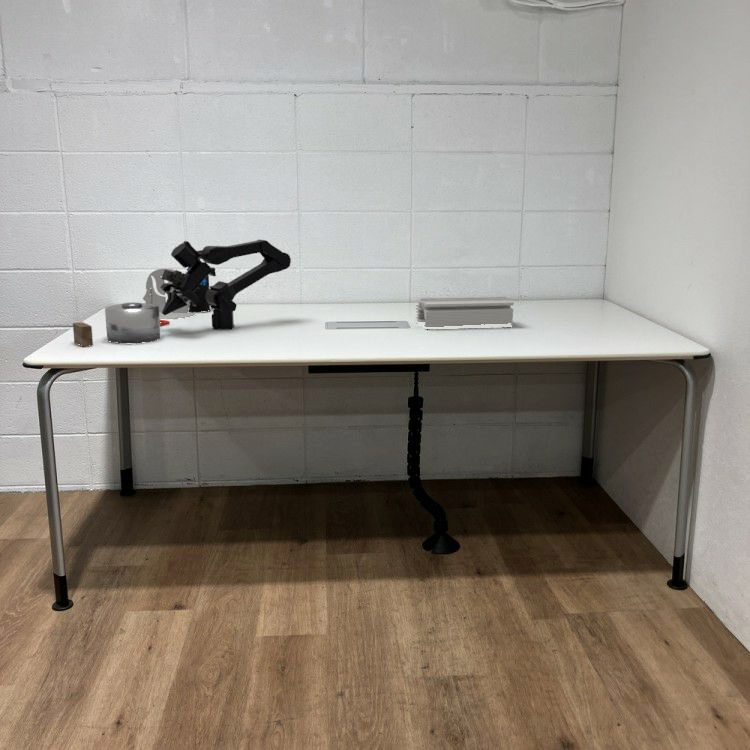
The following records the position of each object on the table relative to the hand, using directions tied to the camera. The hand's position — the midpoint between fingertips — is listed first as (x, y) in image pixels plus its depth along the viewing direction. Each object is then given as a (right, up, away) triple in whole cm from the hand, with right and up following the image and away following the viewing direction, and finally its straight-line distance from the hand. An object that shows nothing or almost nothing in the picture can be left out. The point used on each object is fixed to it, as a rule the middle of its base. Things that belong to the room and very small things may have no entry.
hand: (163, 314), depth 254 cm
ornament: (-10, +1, +35) cm, 36 cm away
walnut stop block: (-20, -10, -13) cm, 27 cm away
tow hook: (-8, -2, +20) cm, 21 cm away
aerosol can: (+1, +5, +48) cm, 48 cm away
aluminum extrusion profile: (+98, -3, +24) cm, 101 cm away
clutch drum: (-8, -8, -4) cm, 12 cm away
